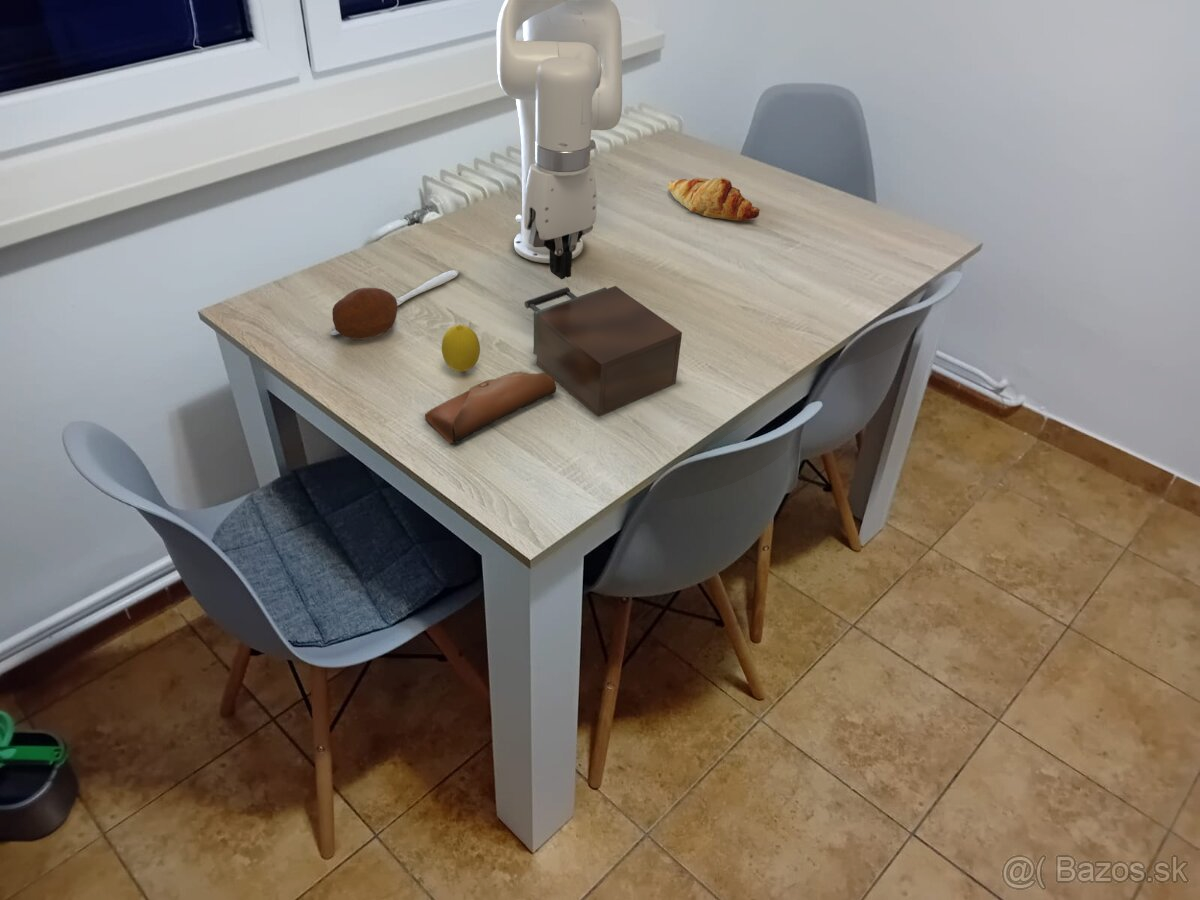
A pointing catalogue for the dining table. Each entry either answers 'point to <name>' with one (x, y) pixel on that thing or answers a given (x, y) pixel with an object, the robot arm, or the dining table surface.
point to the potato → (365, 313)
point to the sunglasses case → (488, 404)
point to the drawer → (548, 297)
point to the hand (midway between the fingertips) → (560, 274)
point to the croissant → (713, 198)
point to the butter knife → (422, 288)
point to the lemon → (460, 348)
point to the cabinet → (607, 349)
